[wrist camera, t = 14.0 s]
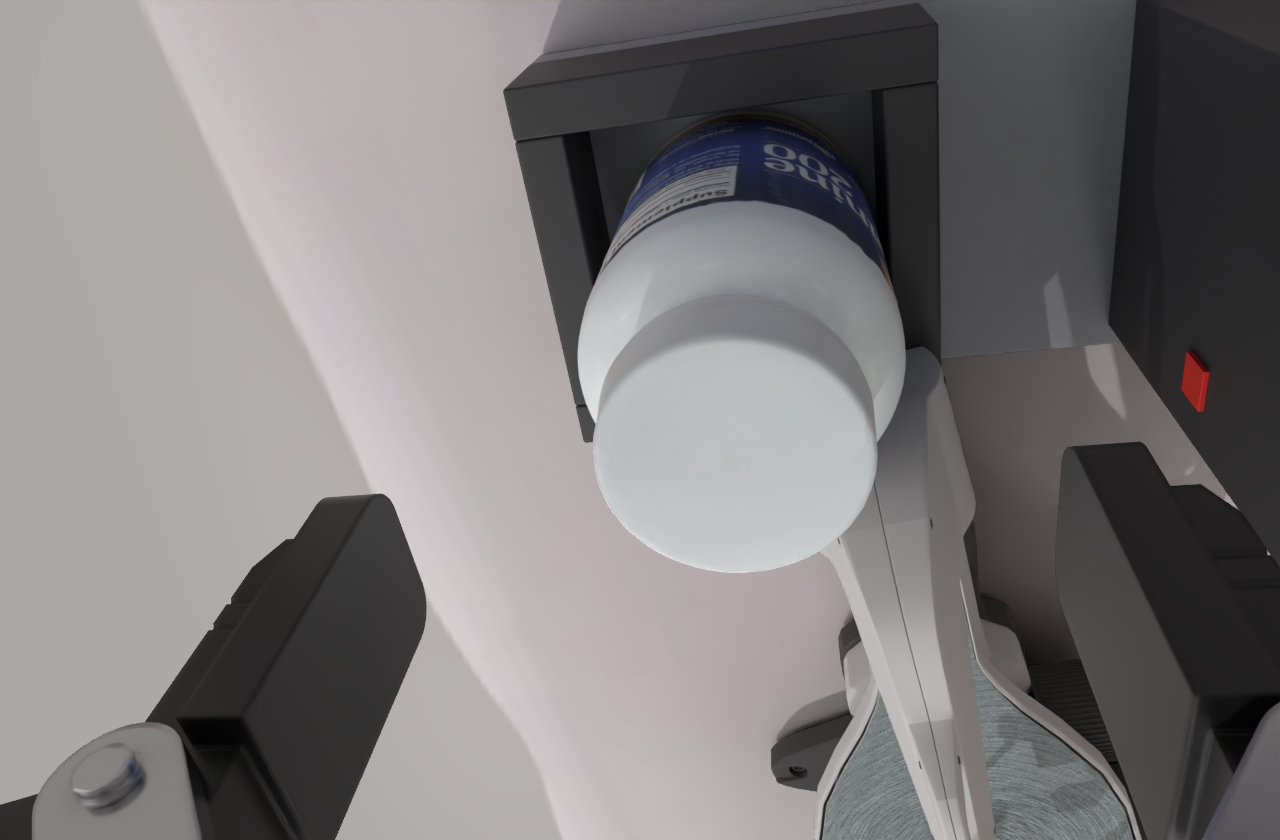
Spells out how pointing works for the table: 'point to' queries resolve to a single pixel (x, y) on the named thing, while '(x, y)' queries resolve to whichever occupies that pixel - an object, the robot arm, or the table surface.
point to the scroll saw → (946, 673)
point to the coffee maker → (986, 180)
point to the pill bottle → (742, 347)
